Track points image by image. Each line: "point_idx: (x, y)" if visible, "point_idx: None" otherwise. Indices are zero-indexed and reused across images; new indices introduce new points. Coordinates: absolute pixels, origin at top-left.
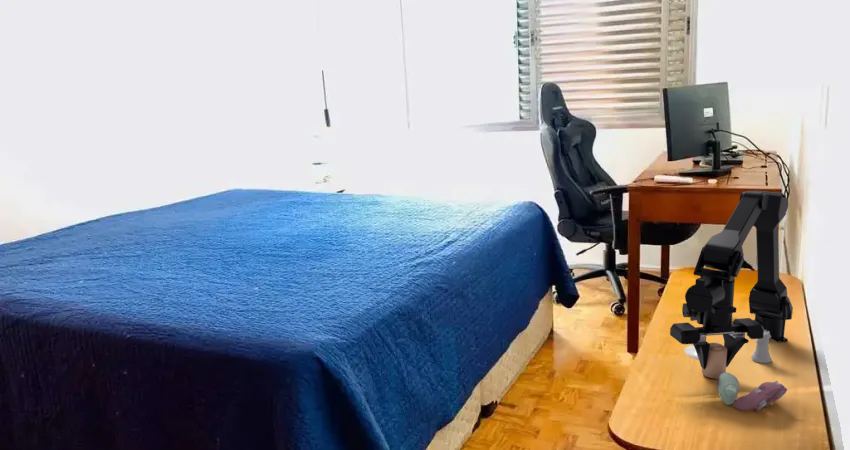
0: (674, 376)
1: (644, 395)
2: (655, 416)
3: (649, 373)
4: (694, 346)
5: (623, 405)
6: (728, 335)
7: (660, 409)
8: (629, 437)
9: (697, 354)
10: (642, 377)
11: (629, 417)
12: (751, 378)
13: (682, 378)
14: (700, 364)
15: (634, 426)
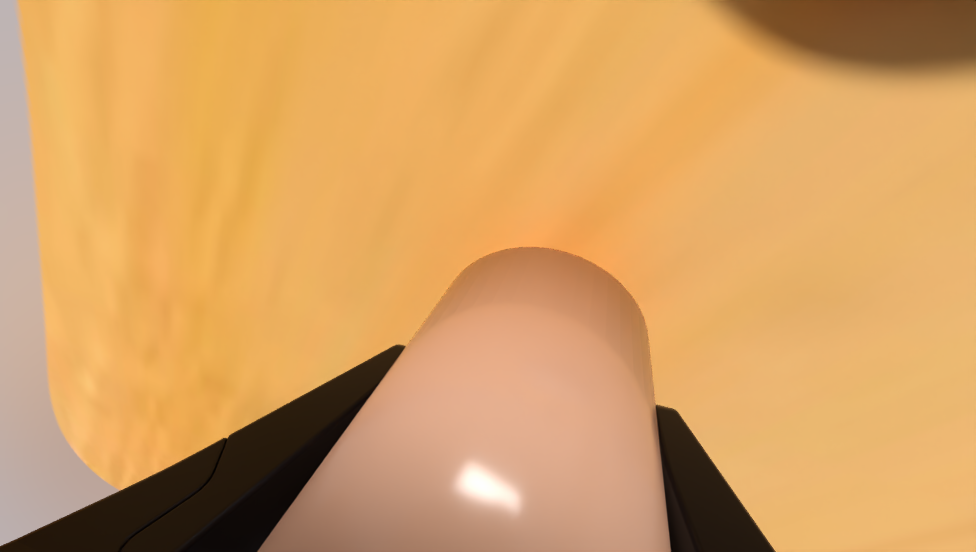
0: (286, 151)
1: (112, 309)
2: (158, 438)
3: (111, 35)
4: (64, 536)
5: (49, 342)
6: None
7: (175, 416)
8: (100, 471)
9: (250, 434)
10: (74, 98)
11: (83, 408)
12: (918, 403)
13: (334, 203)
14: (374, 357)
15: (104, 446)
